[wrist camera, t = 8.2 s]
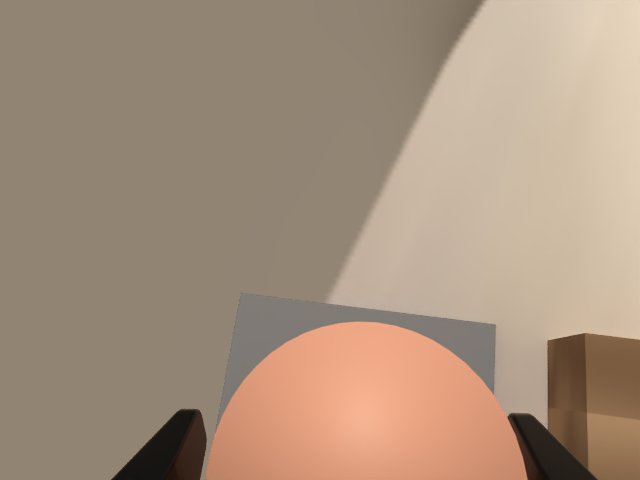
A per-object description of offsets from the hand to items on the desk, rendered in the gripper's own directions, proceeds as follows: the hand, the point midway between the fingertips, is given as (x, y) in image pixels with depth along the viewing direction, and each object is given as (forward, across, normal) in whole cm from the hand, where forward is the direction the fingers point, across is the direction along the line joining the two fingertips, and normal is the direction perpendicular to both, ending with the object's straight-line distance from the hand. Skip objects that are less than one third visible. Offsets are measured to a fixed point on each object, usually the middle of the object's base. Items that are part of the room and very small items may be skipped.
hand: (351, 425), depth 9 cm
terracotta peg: (+5, 0, +7) cm, 8 cm away
